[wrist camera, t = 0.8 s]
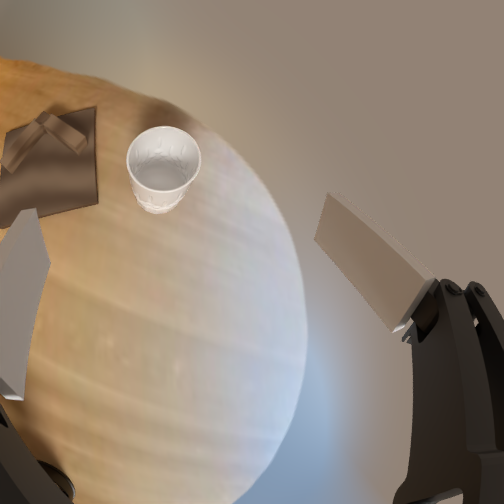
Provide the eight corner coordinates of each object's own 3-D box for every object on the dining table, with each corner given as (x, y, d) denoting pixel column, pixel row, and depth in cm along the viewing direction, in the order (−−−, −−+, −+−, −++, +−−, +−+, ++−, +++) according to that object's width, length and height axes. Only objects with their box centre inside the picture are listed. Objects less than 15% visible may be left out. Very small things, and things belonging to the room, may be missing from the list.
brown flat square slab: (98, 203, 32) (94, 195, 29) (1, 229, 26) (-9, 223, 23) (95, 111, 33) (93, 98, 30) (8, 135, 27) (1, 125, 23)
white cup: (150, 155, 35) (154, 114, 26) (197, 182, 37) (214, 148, 28) (119, 200, 33) (111, 168, 24) (168, 229, 35) (176, 206, 26)
